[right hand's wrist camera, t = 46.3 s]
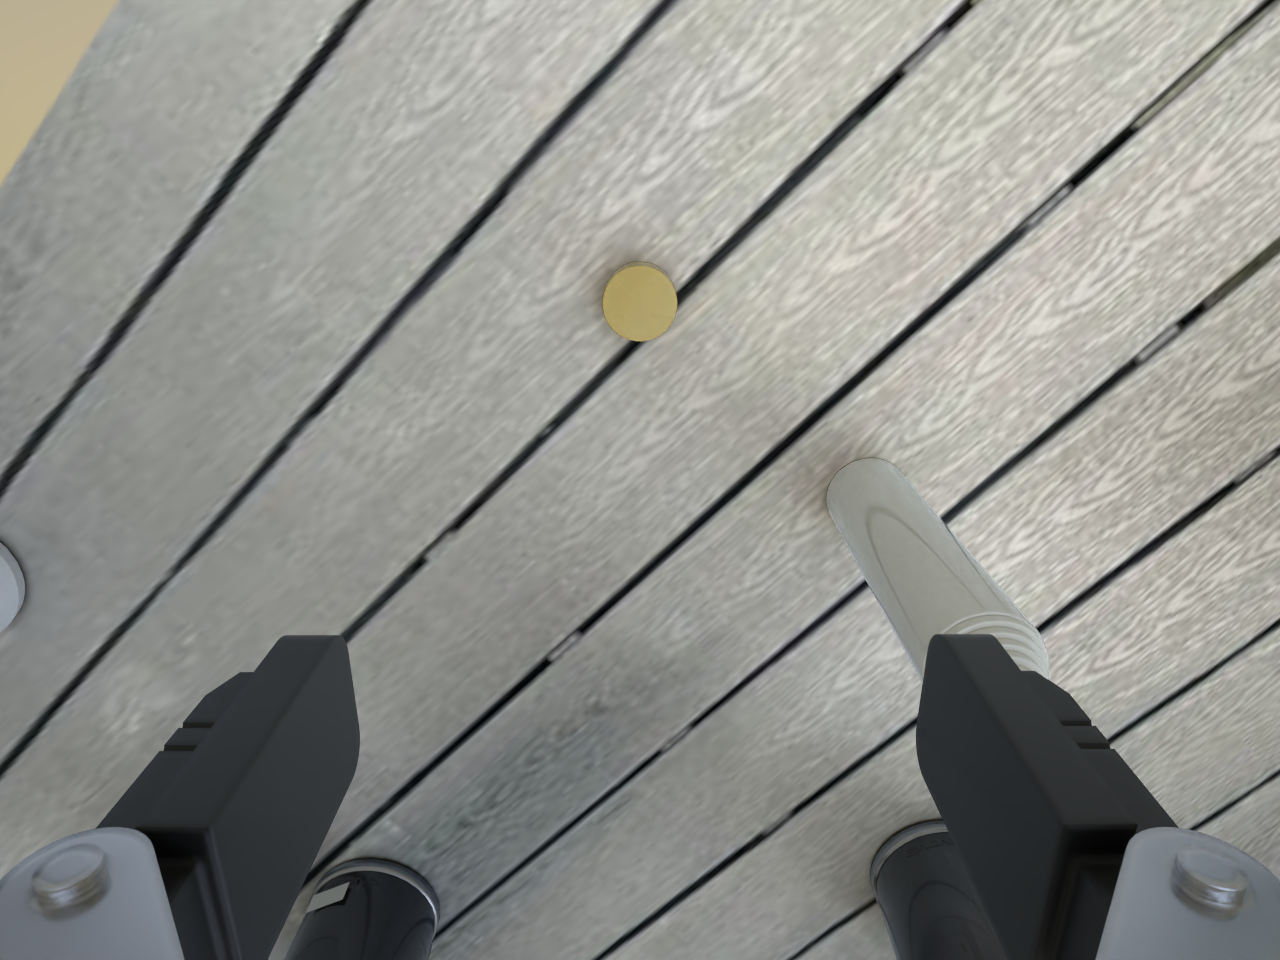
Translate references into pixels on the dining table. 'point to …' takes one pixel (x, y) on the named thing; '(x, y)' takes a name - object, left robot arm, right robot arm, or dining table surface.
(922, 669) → the bottle
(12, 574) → the pendant light
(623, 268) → the cap
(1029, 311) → the dining table surface
